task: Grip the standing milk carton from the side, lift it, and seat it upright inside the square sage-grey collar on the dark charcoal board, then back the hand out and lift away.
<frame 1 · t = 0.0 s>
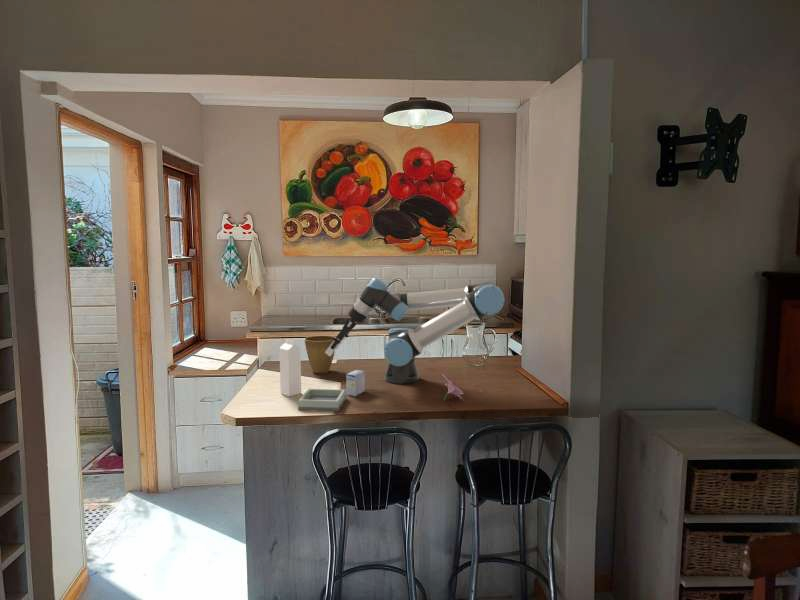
hand: (331, 350, 215), 15 cm above the countertop, tool tilted 35°, fingers open, 13 cm apart
milk: (291, 394, 206), on the countertop
plant pot: (321, 371, 240), on the countertop
carton holder: (322, 404, 193), on the countertop
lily: (452, 401, 198), on the countertop
medicine box: (355, 393, 207), on the countertop
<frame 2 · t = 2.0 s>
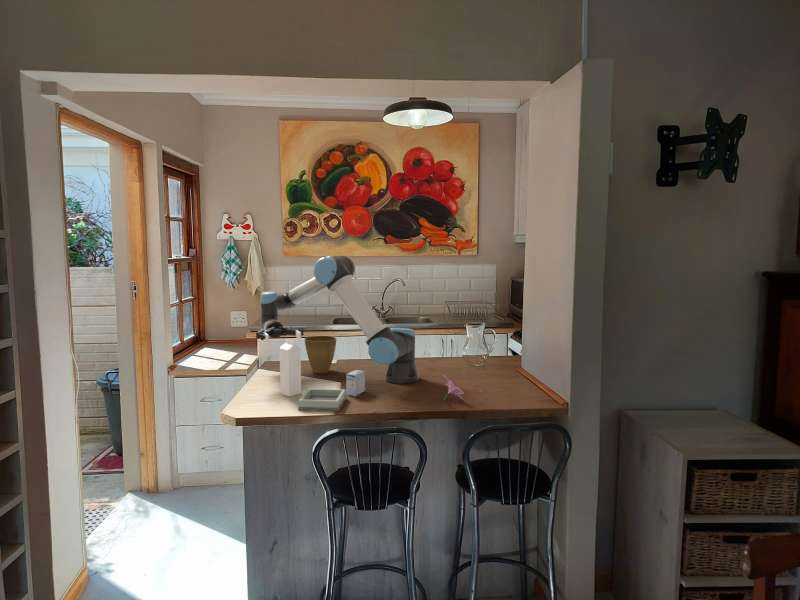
hand: (284, 337, 212), 21 cm above the countertop, tool horizontal, fingers open, 13 cm apart
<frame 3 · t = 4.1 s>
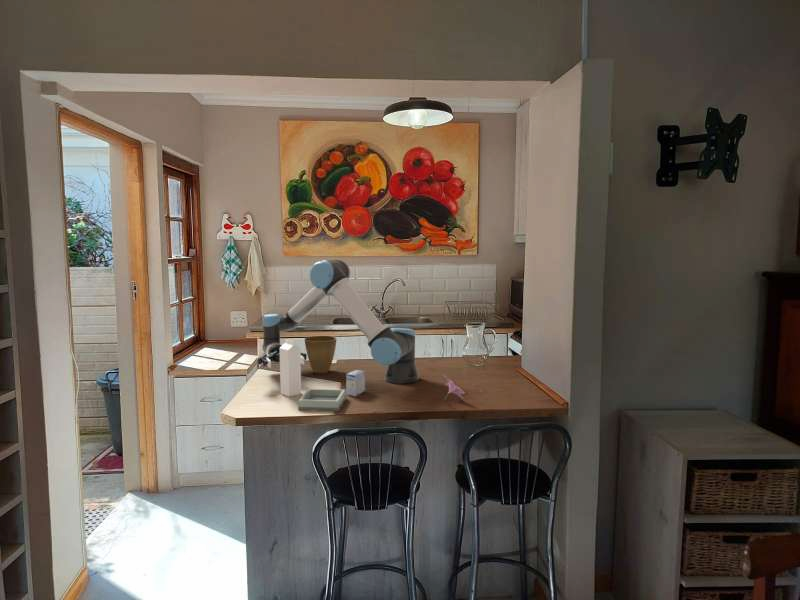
hand: (287, 362, 208), 12 cm above the countertop, tool horizontal, fingers open, 13 cm apart
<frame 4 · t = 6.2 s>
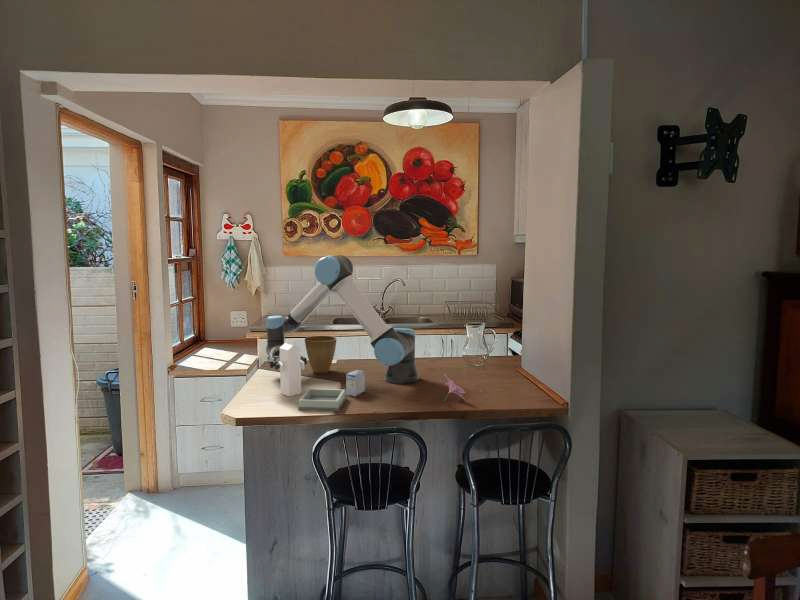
hand: (293, 367, 200), 12 cm above the countertop, tool horizontal, fingers closed on milk, 8 cm apart
milk: (291, 393, 206), on the countertop, touching gripper
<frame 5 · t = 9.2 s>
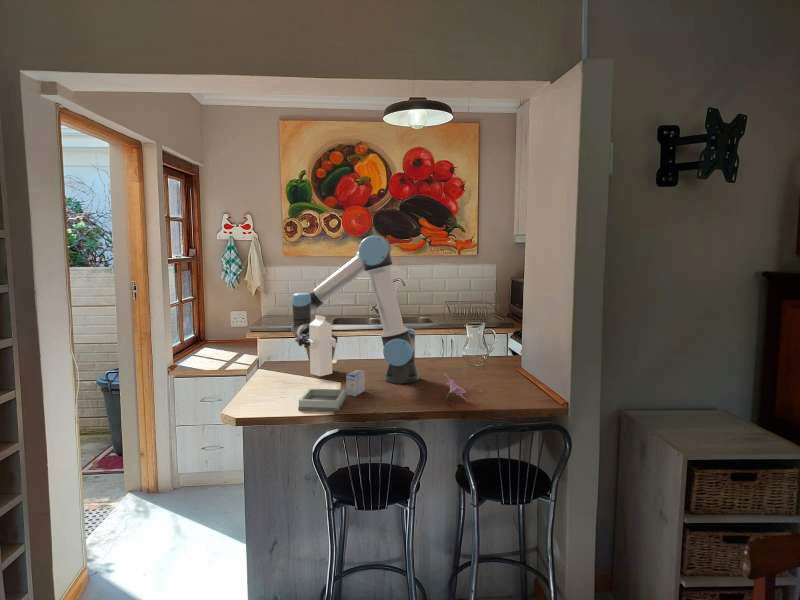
hand: (324, 344, 186), 24 cm above the countertop, tool horizontal, fingers closed on milk, 8 cm apart
milk: (321, 374, 192), point 12 cm above the countertop, touching gripper
when the fingers open (15 cm above the countertop, at t = 12.3 s): milk drops 1 cm, resting on carton holder.
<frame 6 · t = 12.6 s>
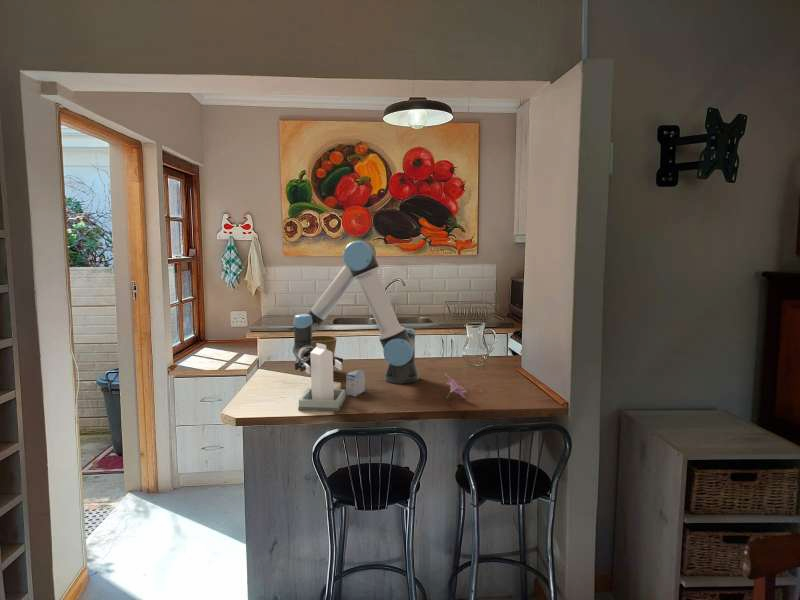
hand: (325, 368, 188), 15 cm above the countertop, tool horizontal, fingers open, 11 cm apart
milk: (322, 401, 193), point 1 cm above the countertop, touching carton holder
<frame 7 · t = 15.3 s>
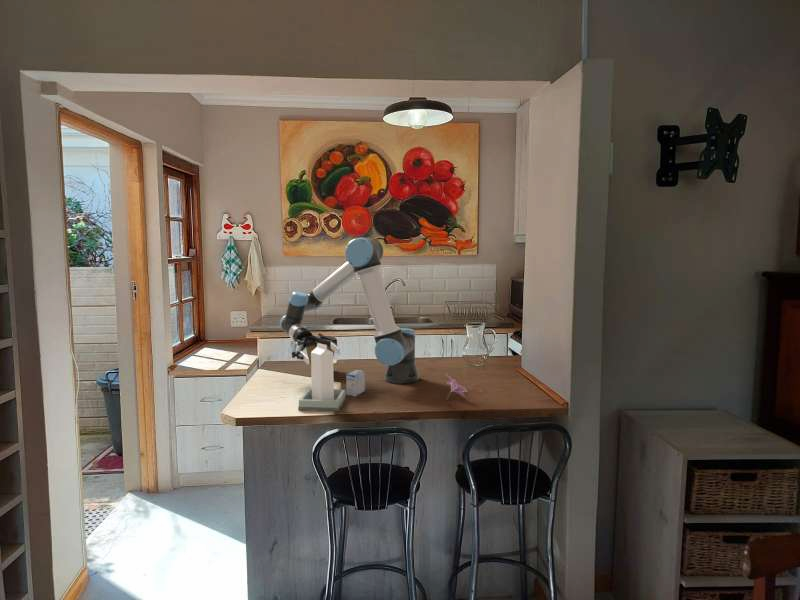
hand: (323, 356, 202), 16 cm above the countertop, tool horizontal, fingers open, 13 cm apart
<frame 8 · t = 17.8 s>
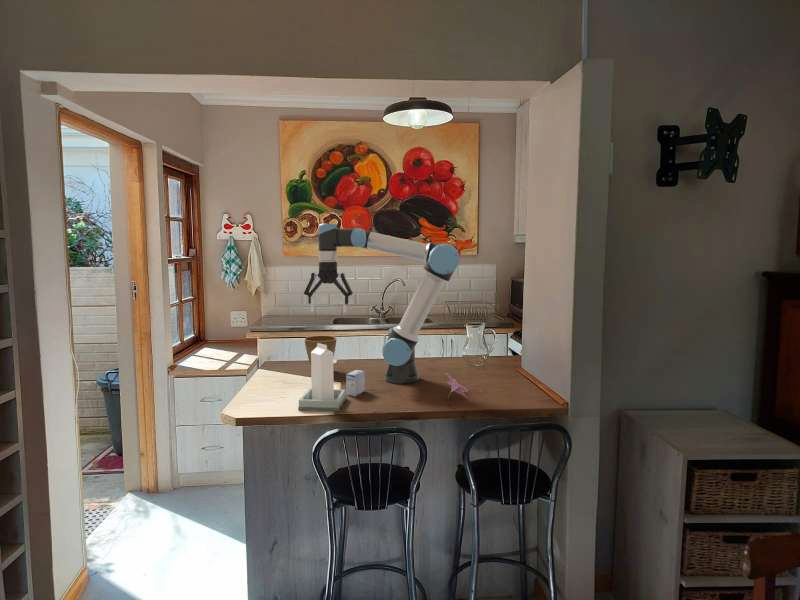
hand: (328, 311, 214), 32 cm above the countertop, tool pointing down, fingers open, 13 cm apart
at the end: milk 0.0 cm off-centre on the carton holder, point 1.0 cm above the carton holder's base; milk tilted 0°; the gripper is holding nothing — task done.
